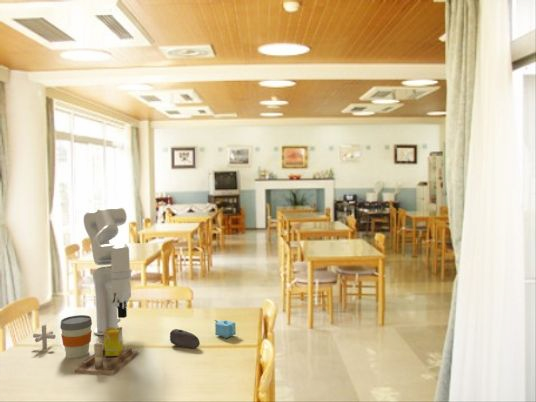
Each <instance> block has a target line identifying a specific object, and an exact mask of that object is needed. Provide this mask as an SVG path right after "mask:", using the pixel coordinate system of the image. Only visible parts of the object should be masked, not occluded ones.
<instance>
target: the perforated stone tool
mask: <svg viewBox="0 0 536 402" xmlns="http://www.w3.org/2000/svg"><path fill="white" fill-rule="evenodd" d="M169 341H170V344H172V345H174V346H176V347H180V348H188V349H196V348H198V347H200V345H201V344H200V343H201V341H200V339H199V338H198V337H197V335H195V334H193V333H191V332H190V331H187V330H183V329H178V328H175V329H172V330H171V331H170V333H169Z"/></svg>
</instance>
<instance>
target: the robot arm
mask: <svg viewBox="0 0 536 402" xmlns="http://www.w3.org/2000/svg"><path fill="white" fill-rule="evenodd" d="M127 217H128V216H127V212H126V210H125V209H124V208H123V207H122V206H121V207H120V206H110V207H101V208H98V209H96V210H90V211H87V212H85V214H84V215H83V225H84V229H85V231H86V234H87V235H88V238H89V240H90V245H91V251H92V258H93V262H94V264H95V265H97V266H101V267H98V268H96V269H94V271H93V273H92V279H93V284H94V290H95V291H94V292H95V307H96V308H95V309H96V311H95V313H96V327H95V328H94V329H93V333H94V335H97V336H104V332H105V331H106V330H107V328H109V327H121V326H120V325H118V323H121V321H122V320H121V319H125V318H127V316H128V314H127V313H128V312H127V310H128V309H127V307H128V302H129V301H130V298H131V297H132V288H131V279H132V272H131V264H130V262H131V261H130V248H129V246H128V245H127V243H124V242H123V243H121V242H120V243H111V242H110V241H111V240H113V239H114V238H115V237H117V236H118V234H119V227H120V226H123V225H125V224H126V222H127Z"/></svg>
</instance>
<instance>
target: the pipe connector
mask: <svg viewBox="0 0 536 402" xmlns="http://www.w3.org/2000/svg"><path fill="white" fill-rule="evenodd" d="M32 337H33V338H34V341H35V342H36V343H39V342H40V341H41V342H42V344H41V345H42V349H46V348H48V341H47V339H50V340H51V339H52V340H55V339H56V334H54V331H53V330H50V331H47V324H42V325H41V333H33V334H32Z"/></svg>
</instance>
